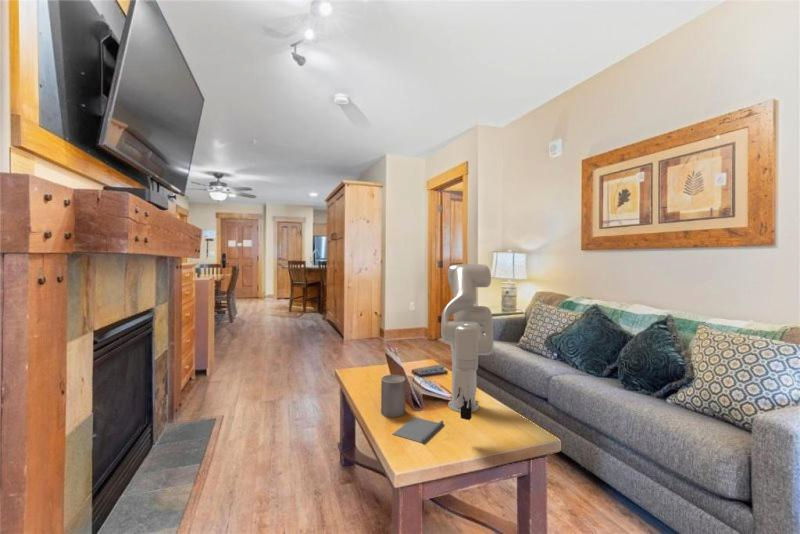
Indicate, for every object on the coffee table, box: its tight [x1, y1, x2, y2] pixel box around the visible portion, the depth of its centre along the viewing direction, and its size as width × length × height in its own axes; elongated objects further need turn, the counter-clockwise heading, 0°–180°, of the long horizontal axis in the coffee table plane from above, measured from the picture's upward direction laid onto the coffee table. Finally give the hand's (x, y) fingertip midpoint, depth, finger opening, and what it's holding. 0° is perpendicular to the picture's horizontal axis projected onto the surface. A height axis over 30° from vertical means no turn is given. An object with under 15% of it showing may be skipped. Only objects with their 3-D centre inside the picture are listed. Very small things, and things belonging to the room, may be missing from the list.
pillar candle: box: [380, 374, 406, 418], centre depth 141 cm, size 10×10×15 cm
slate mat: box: [392, 416, 445, 445], centre depth 126 cm, size 16×12×2 cm
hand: (466, 418), depth 117 cm, fingers closed
